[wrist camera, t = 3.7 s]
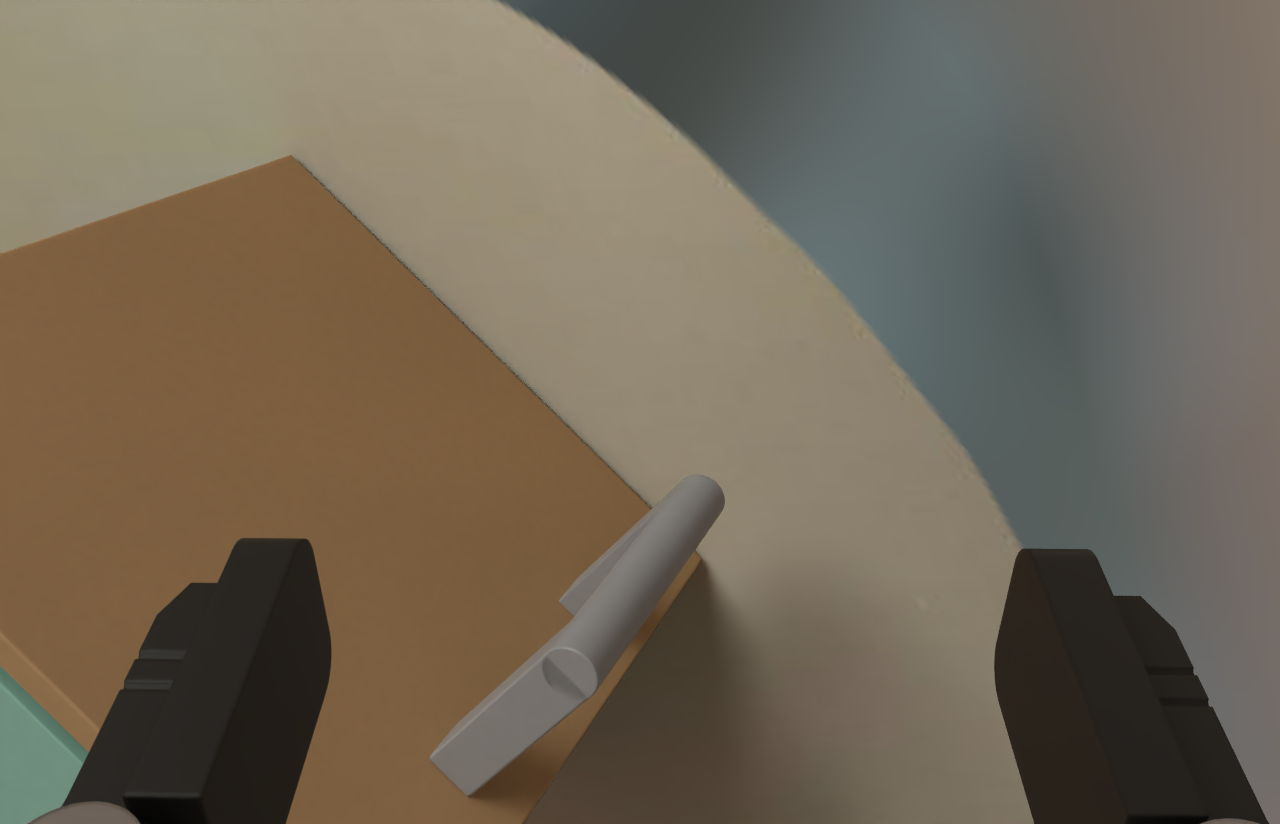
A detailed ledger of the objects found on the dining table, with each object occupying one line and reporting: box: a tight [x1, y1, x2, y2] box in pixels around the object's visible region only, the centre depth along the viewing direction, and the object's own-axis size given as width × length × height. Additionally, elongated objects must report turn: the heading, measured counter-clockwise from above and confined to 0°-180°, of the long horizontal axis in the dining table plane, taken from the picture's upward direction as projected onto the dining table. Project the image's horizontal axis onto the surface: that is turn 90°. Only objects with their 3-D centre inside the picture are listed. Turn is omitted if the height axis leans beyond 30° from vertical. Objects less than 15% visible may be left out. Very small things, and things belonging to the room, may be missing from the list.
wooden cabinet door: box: [0, 155, 725, 824], centre depth 36 cm, size 8×22×22 cm, turn 50°
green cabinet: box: [0, 666, 89, 824], centre depth 42 cm, size 14×22×22 cm, turn 50°
